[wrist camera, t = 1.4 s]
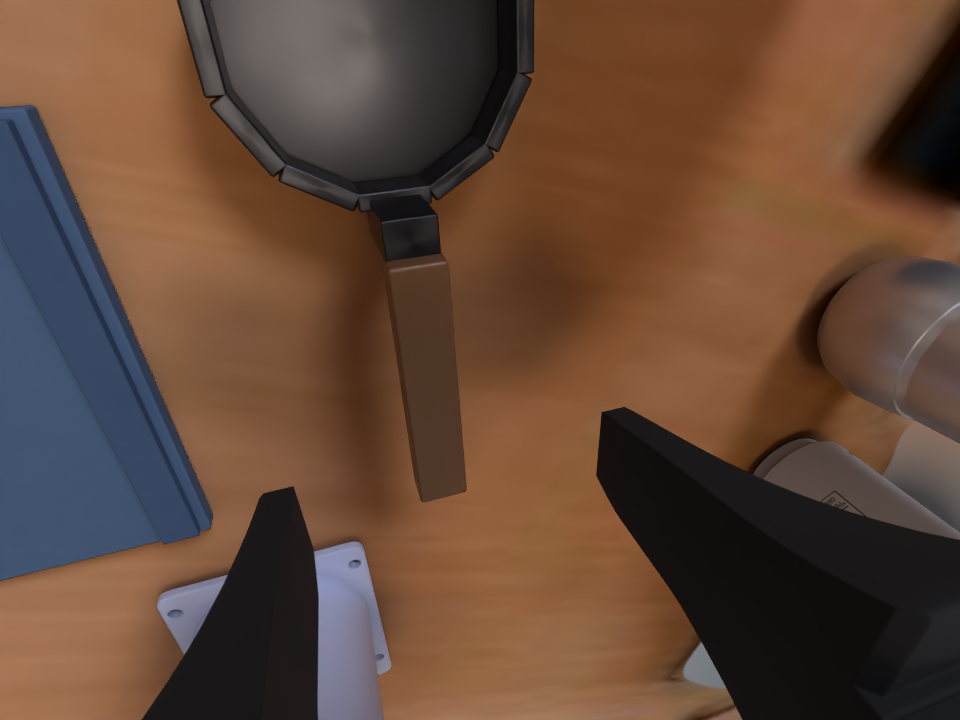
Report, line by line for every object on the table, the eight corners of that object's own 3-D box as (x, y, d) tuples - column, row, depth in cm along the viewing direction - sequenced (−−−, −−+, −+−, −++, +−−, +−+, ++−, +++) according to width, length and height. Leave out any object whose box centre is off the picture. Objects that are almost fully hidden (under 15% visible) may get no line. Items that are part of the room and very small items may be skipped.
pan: (141, -177, 11) (68, -284, 7) (504, -165, 13) (592, -247, 9) (309, 439, 20) (315, 531, 16) (513, 394, 22) (561, 467, 18)
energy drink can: (796, 511, 33) (1106, 797, 20) (720, 516, 30) (1016, 839, 18) (849, 430, 30) (1240, 701, 18) (770, 429, 28) (1155, 738, 16)
